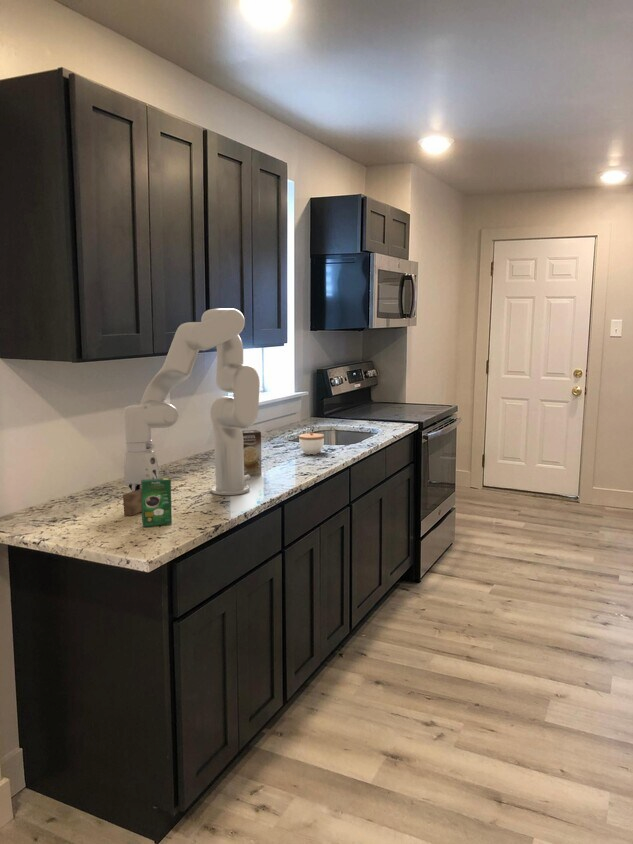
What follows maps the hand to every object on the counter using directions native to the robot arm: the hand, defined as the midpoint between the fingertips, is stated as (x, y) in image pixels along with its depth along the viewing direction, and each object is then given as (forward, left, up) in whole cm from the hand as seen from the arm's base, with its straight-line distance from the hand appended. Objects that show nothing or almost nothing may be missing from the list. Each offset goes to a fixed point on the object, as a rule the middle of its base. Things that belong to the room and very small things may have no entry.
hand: (143, 506), depth 205 cm
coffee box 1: (+10, +14, -1) cm, 17 cm away
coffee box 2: (-54, +4, -1) cm, 54 cm away
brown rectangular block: (0, 0, -1) cm, 1 cm away
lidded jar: (-99, +8, -1) cm, 99 cm away
